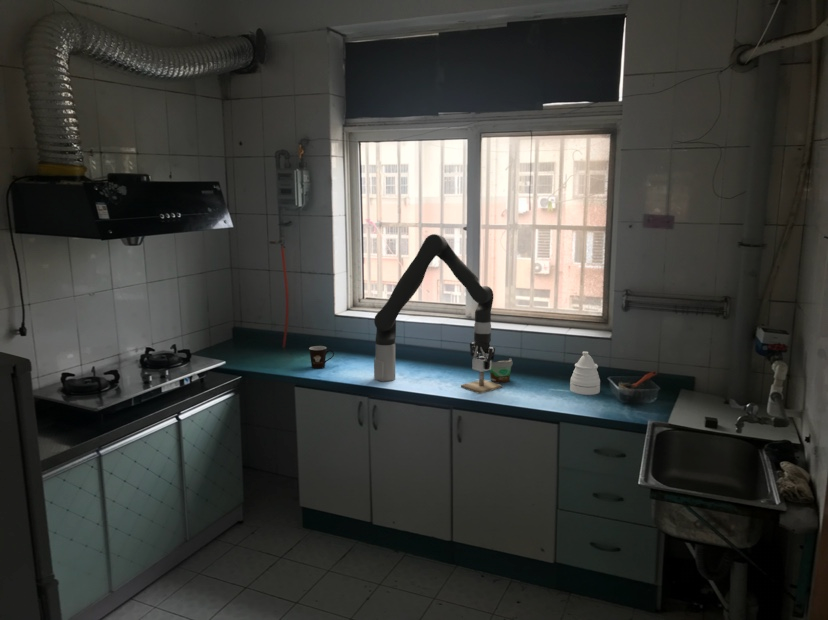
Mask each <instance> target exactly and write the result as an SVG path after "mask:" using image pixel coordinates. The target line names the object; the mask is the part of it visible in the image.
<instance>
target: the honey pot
mask: <svg viewBox="0 0 828 620" xmlns="http://www.w3.org/2000/svg"><path fill="white" fill-rule="evenodd" d="M574 367H575V368H574V370H573V371H572V372H573V373H572V375H571V377H570V382H569V390H570V391H571V392H572V393H574V394H578V395H585V396H587V395H588V396H591V395H597V394H600V391H601V379H600V375H599V372H598V370H597V369H598V367H599V365H598V364H597V363H595V361H594V358H593V357H592V356H591V355H590V354H589V351H582V355H581V357H580V358H579V359H578V361H577V362H576V363H575V364H574Z"/></svg>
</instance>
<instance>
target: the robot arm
mask: <svg viewBox="0 0 828 620" xmlns="http://www.w3.org/2000/svg"><path fill="white" fill-rule="evenodd" d="M435 257H437V258H439V259H440V260H441V261H443V263H444V264H446V266H447V267H448V268H449V269H450V271H451V272H452V274H453V275H454V277H455V278H456V280H457V281H459V282H460V283H461V284H462V286H464V287H465V289H466V291H467V292H468V294H469V295H470V297H471V298H472V300H473V301H474V302H476V303H478V304H477V307H476V308H475V310H474V311H475V312H474V325H473V341H474V342H470V343H469V351H470V356H471V357H472V358H476V357H480V355H481V356H483V357H484V358H485V369H486V370H487V369H489V368H490V361H492V362H493V361H494V360H495V353H496V347H491V344H490V343H491V341H492V323H491V321H492V319H491V318H492V317H491V316H492V312H491V311H492V308H493V303H494V291H493V290H492V288H491V287H490V286H487V285H484V286H482V285H481V284H480V282H479V278H478V277H477V275H476V274H475V273H474V272H473V271H472V270H471V269H470V268H469V266H467V265H466V264H465V263H464V261H463V260H461V259H460V257H459V256H458V255H457V254H456V253H455V251H454V250H453V249H452V247H451V246H450V244H449V242H448V241H447V240H446V238H445V237H444V236H442V235H440V234H438V233H437V234H436V233H434V234H433V233H432V234H430V235H428V236H426V237H425V239H424V241H423V242H422V245H421V246H420V248H419V251H418V252H417V254H416V256H415V257H414V259H412V261H411V263H410V264H409V266H408V267H407V269H406V270H405V272H404V273H403V274H402V276H401V277H400V278H399V280H398V282H397V283H396V285H395V286H394V288H393V290H392V293H391V295H390V297H389V298H388V300H387V302H386V303H385V304H384V305H383V307H382V308H381V309H380V310H379V311H378V312H377V313H376V314H375V316H374V319H373V320H374V326H375V328H376V334H375V358H374V360H373V374H374V375H373V378H374V380H377V381H380V382H390V381H394V380H395V379H396V338H397V337H396V335H397V317H398V315H400V312H401V310H402V309H403V308H404V307H405V306H406V304H407V303H408V302H409V301H410V300H411V299H412V297H413V296H414V295H415V294H416V292H417V290H419V288H420V286H421V285H422V283H423V281H424V278H425V275H426V272H427V269H428V267H429V266H430V265H431V263H432V261H433V260H434V259H435ZM487 358H488V359H487ZM487 371H488V370H487Z"/></svg>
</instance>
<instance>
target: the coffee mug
mask: <svg viewBox="0 0 828 620" xmlns="http://www.w3.org/2000/svg"><path fill="white" fill-rule="evenodd" d="M308 350H309V356H310V364H311V368H312V370H322V369H325V366H326V363H327V362H328V361H329V360H331V359H332V358H333V357H334V355H335V352H334V351H333V350H331V349H329V350H327V347H326V346H323V345H315V346H310V347H309V348H308ZM329 352H331V353H332V356H330V357H329V358H328V359H326V355H327V354H328V353H329Z"/></svg>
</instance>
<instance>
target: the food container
mask: <svg viewBox="0 0 828 620" xmlns="http://www.w3.org/2000/svg"><path fill="white" fill-rule="evenodd" d="M513 364H514V363H513V360H512V358H511V357H510V358H508V359H507V360H497V361H493V360H492V361H491V370H489V373H490V382H493V383H496V384H507V383H509V382H510V379H511V373H512V372H511V371H512V370H511V369H512V366H513Z"/></svg>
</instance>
